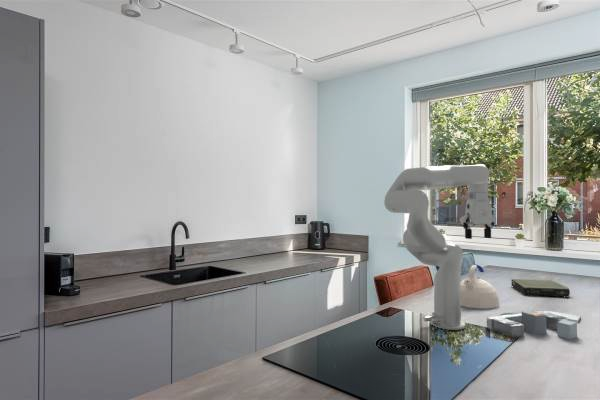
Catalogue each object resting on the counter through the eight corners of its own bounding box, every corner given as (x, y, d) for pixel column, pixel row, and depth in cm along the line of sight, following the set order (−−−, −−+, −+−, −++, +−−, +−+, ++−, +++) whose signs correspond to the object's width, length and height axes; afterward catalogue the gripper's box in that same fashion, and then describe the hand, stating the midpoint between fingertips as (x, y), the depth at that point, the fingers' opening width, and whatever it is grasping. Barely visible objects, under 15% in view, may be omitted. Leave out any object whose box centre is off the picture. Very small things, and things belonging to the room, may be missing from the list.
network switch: (550, 288, 214) (550, 279, 214) (576, 298, 191) (576, 288, 191) (506, 287, 216) (506, 278, 217) (526, 297, 193) (526, 287, 193)
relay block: (570, 339, 133) (570, 324, 133) (557, 336, 137) (557, 321, 137) (577, 336, 136) (576, 322, 136) (564, 333, 139) (564, 319, 140)
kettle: (444, 303, 181) (444, 265, 181) (461, 295, 196) (461, 260, 197) (491, 311, 167) (490, 270, 168) (505, 302, 183) (504, 264, 183)
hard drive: (581, 315, 157) (545, 309, 166) (578, 320, 151) (541, 313, 160) (581, 319, 157) (545, 313, 166) (578, 324, 151) (541, 317, 160)
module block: (535, 334, 139) (535, 315, 139) (521, 329, 144) (521, 311, 145) (546, 332, 140) (546, 314, 140) (532, 327, 146) (532, 309, 146)
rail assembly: (511, 337, 135) (511, 325, 135) (486, 327, 146) (486, 316, 146) (572, 329, 143) (571, 318, 143) (544, 320, 154) (544, 310, 154)
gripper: (466, 196, 155) (467, 239, 155) (501, 196, 160) (502, 238, 160) (454, 197, 162) (454, 238, 162) (487, 197, 167) (488, 236, 167)
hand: (478, 238), depth 161 cm, fingers open, 9 cm apart
